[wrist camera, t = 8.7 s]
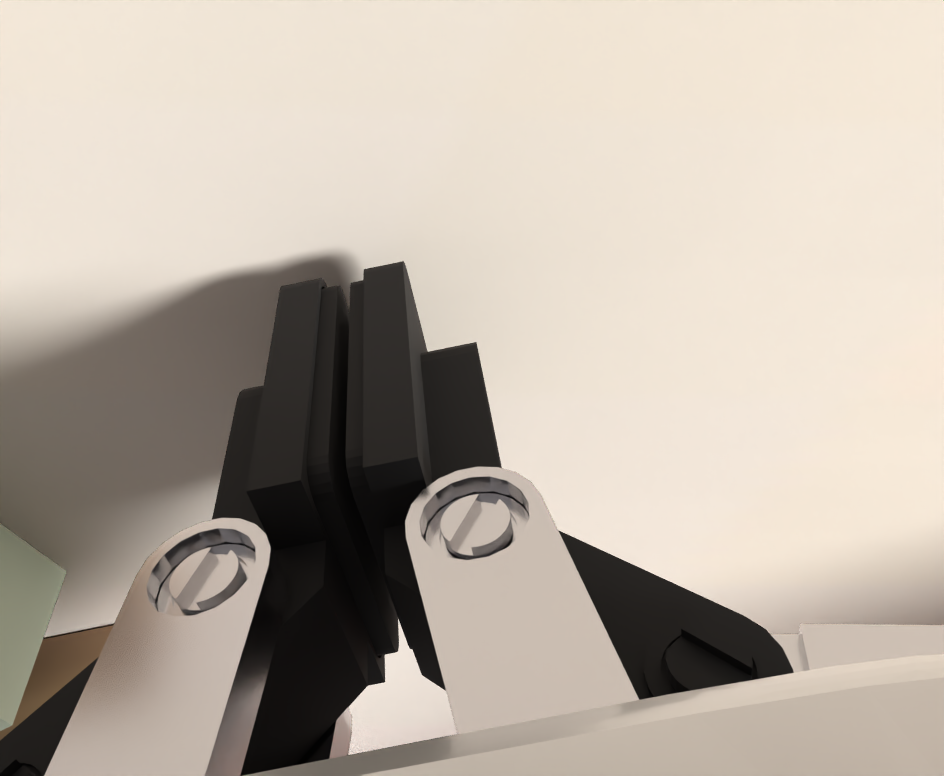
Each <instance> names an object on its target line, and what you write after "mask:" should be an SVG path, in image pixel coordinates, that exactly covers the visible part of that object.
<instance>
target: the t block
mask: <svg viewBox="0 0 944 776" xmlns="http://www.w3.org/2000/svg"><path fill="white" fill-rule="evenodd" d="M66 573H67V571H66V570H64V569H63V568H61V567H60V566H59V565H57V564H56V563H54V562H53V561H52V560H50V559H49V558H48V557H46V556H45V555H43V554H42V553H41V552H39V551H38V550H36V549H35V548H34V547H32V546H31V545H29V544H28V543H27V542H25V541H24V540H23V539H21V538H20V537H18V536H17V535H16V534H14V533H13V532H11V531H10V530H9V529H7V528H6V527H4V526H3V525H2V524H0V731H2V730H4V729H6V728H8V727H10V726H12V725H13V722H14V719H15V717H16V714H17V711H18V708H19V705H20V702H21V700H22V697H23V694H24V691H25V688H26V686H27V683H28V680H29V677H30V674H31V671H32V669H33V666H34V663H35V660H36V657H37V654H38V652H39V649H40V646H41V643H42V640H43V638H44V635H45V632H46V629H47V626H48V623H49V621H50V618H51V615H52V612H53V609H54V606H55V604H56V601H57V598H58V595H59V592H60V590H61V587H62V584H63V581H64V578H65V575H66Z"/></svg>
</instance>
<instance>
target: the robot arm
mask: <svg viewBox="0 0 944 776" xmlns="http://www.w3.org/2000/svg"><path fill="white" fill-rule="evenodd" d="M398 619H399V621H400V624H401V627H402V629H403V632H404V635H405V638H406V640H407V643H408V645H409V648H410V649H413V652H414V654H415V657H416V660H417V663H418V665H419V668H420V671H421V673H422V675H423V676H424V677H426V678H427V679H429V680H430V681H432V682H433V683H435V684H436V685H438V686H439V687H441V688H442V689H444V690H445V691H446V692H447V696H448V700H449V704H450V708H451V711H452V715H453V719H454V723H455V727H456V730H457V734H456V735H451V736H446V737H440V738H435V739H430V740H424V741H419V742H414V743H409V744H404V745H398V746H393V747H388V748H383V749H378V750H373V751H367V752H362V753H357V754H352V755H348V753H349V747H350V741H351V735H352V715H351V712H350V710H349V706H350V705H351V703H352V702H353V701H354V700H355V699H356V698H357V697H358V696H359V695H360V693H361V692H362V691H363V690H364V689H365V688H366V687H367V686H368V685H373V684H378V683H383V682H385V658H384V655H385V654H390V653H395V652H397V651H398V647H399V636H398ZM0 776H944V625H897V624H808V623H800V628H799V634H769V633H768V631H767V630H766V629H764V628H763V627H761V626H759V625H758V624H756V623H755V622H753V621H751V620H750V619H748V618H747V617H745V616H743V615H741V614H739V613H737V612H735V611H732V610H730V609H728V608H726V607H724V606H722V605H719V604H717V603H715V602H713V601H711V600H708V599H706V598H704V597H702V596H700V595H698V594H695V593H693V592H691V591H689V590H687V589H685V588H682V587H680V586H678V585H676V584H674V583H672V582H669V581H667V580H665V579H663V578H661V577H658V576H656V575H654V574H652V573H650V572H648V571H645V570H643V569H641V568H639V567H637V566H635V565H632V564H630V563H628V562H626V561H624V560H622V559H619V558H617V557H615V556H613V555H611V554H608V553H606V552H604V551H602V550H600V549H598V548H595V547H593V546H591V545H589V544H587V543H585V542H582V541H580V540H578V539H576V538H574V537H572V536H569V535H567V534H565V533H563V532H561V531H558V529H557V527H556V525H555V523H554V521H553V519H552V516H551V514H550V512H549V510H548V508H547V506H546V504H545V502H544V500H543V498H542V496H541V494H540V493H539V491H538V490H537V489H536V487H535V486H534V485H533V483H532V482H531V481H529V480H528V479H526V478H525V477H523V476H521V475H520V474H518V473H517V472H514V471H510V470H506V469H503V468H502V467H501V462H500V457H499V452H498V447H497V442H496V437H495V432H494V427H493V422H492V417H491V412H490V407H489V402H488V397H487V392H486V387H485V382H484V378H483V373H482V368H481V363H480V358H479V353H478V348H477V344H476V342H475V343H470V344H465V345H460V346H455V347H450V348H445V349H440V350H435V351H430V352H427V348H426V344H425V340H424V336H423V332H422V328H421V324H420V320H419V316H418V312H417V308H416V304H415V300H414V297H413V293H412V289H411V285H410V281H409V277H408V273H407V269H406V266H405V263H404V261H403V262H398V263H393V264H388V265H383V266H378V267H374V268H369V269H364V280H363V281H358V282H353V283H351V285H350V313H349V310H348V306H347V303H346V300H345V297H344V294H343V291H342V289H341V287H340V286H334V287H329V288H327V286H326V284H325V282H324V280H323V279H322V278H320V279H315V280H310V281H306V282H301V283H296V284H291V285H286V286H282V287H281V289H280V293H279V299H278V305H277V311H276V317H275V323H274V329H273V335H272V341H271V346H270V352H269V358H268V364H267V370H266V376H265V382H264V385H263V386H258V387H253V388H249V389H244V390H242V391H241V392H240V393H239V396H238V399H237V403H236V408H235V412H234V417H233V422H232V427H231V431H230V436H229V441H228V446H227V451H226V455H225V460H224V465H223V470H222V475H221V479H220V484H219V489H218V494H217V499H216V503H215V508H214V513H213V518H212V520H209V521H204V522H200V523H198V524H196V525H193V526H191V527H189V528H186V529H184V530H182V531H180V532H179V533H177V534H176V535H174V536H173V537H171V538H170V539H168V540H167V541H165V542H164V543H162V544H161V545H160V546H159V547H158V548H157V549H156V550H155V551H154V552H153V553H152V554H151V555H150V556H149V557H148V558H147V560H146V561H145V563H144V564H143V566H142V567H141V569H140V571H139V572H138V574H137V575H136V577H135V580H134V582H133V584H132V586H131V588H130V590H129V593H128V595H127V597H126V599H125V601H124V603H123V606H122V608H121V610H120V612H119V614H118V617H117V619H116V621H115V623H114V625H113V627H112V630H111V632H110V634H109V636H108V638H107V640H106V643H105V645H104V647H103V649H102V651H101V653H100V656H99V657H98V658H97V659H95V660H94V661H93V662H92V663H91V664H89V665H88V666H87V667H86V668H85V669H84V670H82V671H81V672H80V673H79V674H78V675H77V676H75V677H74V678H73V679H72V680H71V681H70V682H68V683H67V684H66V685H65V686H64V687H62V688H61V689H60V690H59V691H58V692H57V693H55V694H54V695H53V696H52V697H51V698H50V699H48V700H47V701H46V702H45V703H44V704H42V705H41V706H40V707H39V708H38V709H37V710H35V711H34V712H33V713H32V714H31V715H30V716H28V717H27V718H26V719H25V720H24V721H23V722H21V723H20V724H19V725H18V726H17V727H15V728H14V729H13V730H12V731H11V732H10V733H8V734H7V735H6V736H5V737H4V738H3V739H1V740H0Z"/></svg>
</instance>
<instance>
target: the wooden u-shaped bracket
mask: <svg viewBox="0 0 944 776" xmlns="http://www.w3.org/2000/svg"><path fill="white" fill-rule="evenodd" d="M112 627H113V625H112V626H107V627H102V628H97V629H92V630H87V631H82V632H77V633H72V634H67V635H62V636H57V637H52V638H47V639H43V640H42V643H41V646H40V649H39V652H38V654H37V657H36V660H35V663H34V666H33V669H32V671H31V674H30V677H29V680H28V683H27V686H26V688H25V691H24V694H23V697H22V700H21V702H20V705H19V708H18V711H17V714H16V717H15V719H14V722H13V725H12V726H10V727H8V728H6V729H4V730H2V731H0V740H1V739H3V738H4V737H5V736H6V735H7V734H8V733H10V732H11V731H12V730H13V729H14V728H15V727H17V726H18V725H19V724H20V723H21V722H23V721H24V720H25V719H26V718H27V717H28V716H30V715H31V714H32V713H33V712H34V711H35V710H37V709H38V708H39V707H40V706H41V705H42V704H44V703H45V702H46V701H47V700H48V699H50V698H51V697H52V696H53V695H54V694H55V693H57V692H58V691H59V690H60V689H61V688H62V687H64V686H65V685H66V684H67V683H68V682H70V681H71V680H72V679H73V678H74V677H75V676H77V675H78V674H79V673H80V672H81V671H82V670H84V669H85V668H86V667H87V666H88V665H89V664H91V663H92V662H93V661H94V660H95V659H97V658H98V657H99V656H100V653H101V651H102V649H103V647H104V645H105V643H106V640H107V638H108V636H109V634H110V632H111V630H112Z"/></svg>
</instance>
